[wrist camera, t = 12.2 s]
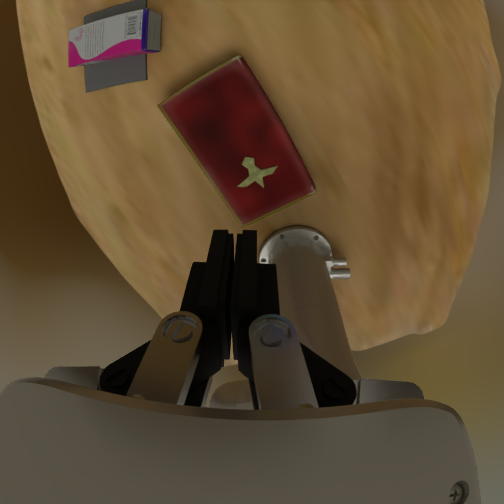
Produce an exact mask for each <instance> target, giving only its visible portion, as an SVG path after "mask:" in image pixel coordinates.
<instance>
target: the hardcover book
mask: <svg viewBox="0 0 504 504" xmlns="http://www.w3.org/2000/svg"><path fill="white" fill-rule="evenodd" d="M157 106H158V107H159V109H160V110H161V112H162V113H163V114H164V116H165V117H166V119H167V120H168V122H169V123H170V124H171V126H172V127H173V129H174V130H175V132H176V133H177V134H178V136H179V137H180V139H181V140H182V142H183V143H184V144H185V146H186V147H187V149H188V150H189V152H190V153H191V155H192V156H193V157H194V159H195V160H196V162H197V163H198V165H199V166H200V167H201V169H202V170H203V172H204V173H205V175H206V176H207V178H208V179H209V180H210V182H211V183H212V185H213V186H214V188H215V189H216V191H217V192H218V193H219V195H220V196H221V198H222V199H223V201H224V202H225V204H226V205H227V206H228V208H229V209H230V211H231V212H232V214H233V215H234V217H235V218H236V220H237V221H238V222H239V224H240V225H241V227H242V228H243V227H245V226H247V225H249V224H252V223H254V222H256V221H258V220H260V219H262V218H264V217H266V216H268V215H270V214H273V213H275V212H277V211H279V210H281V209H283V208H285V207H287V206H290V205H292V204H294V203H296V202H298V201H300V200H303V199H305V198H307V197H309V196H311V195H313V194H316V192H317V191H316V186H315V184H314V182H313V180H312V178H311V176H310V174H309V172H308V170H307V168H306V166H305V164H304V162H303V160H302V158H301V156H300V154H299V152H298V150H297V149H296V147H295V145H294V143H293V141H292V139H291V137H290V135H289V134H288V132H287V130H286V128H285V126H284V125H283V123H282V121H281V119H280V117H279V116H278V114H277V112H276V110H275V109H274V107H273V105H272V104H271V102H270V100H269V98H268V97H267V95H266V93H265V92H264V90H263V88H262V87H261V85H260V84H259V82H258V80H257V79H256V77H255V75H254V74H253V72H252V71H251V69H250V68H249V66H248V64H247V63H246V61H245V60H244V58H243V57H242V55H237V56H235V57H233V58H232V59H230V60H228V61H226V62H224V63H222V64H221V65H219V66H217V67H215V68H214V69H212V70H210V71H209V72H207V73H205V74H204V75H202V76H200V77H199V78H197V79H196V80H194V81H192V82H191V83H189V84H188V85H186V86H185V87H183V88H182V89H180V90H179V91H177V92H176V93H174V94H173V95H171V96H170V97H168V98H167V99H166V100H164V101H163V102H161V103H160V104H159V105H157Z"/></svg>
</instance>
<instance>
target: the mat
mask: <svg viewBox="0 0 504 504" xmlns="http://www.w3.org/2000/svg"><path fill="white" fill-rule="evenodd" d="M141 9H147V0H135V1H131V2H127V3H124V4H120V5H117V6H114V7H110V8H107V9H104V10H101V11H98V12H96V13H93V14H90V15H87V16H85V17H84V25H85V24H88V23H91V22H94V21H97V20H101V19H104V18H107V17H111V16H115V15H119V14H123V13H127V12H132V11H136V10H141ZM84 69H85V85H86V93H87V92H91V91H95V90H99V89H103V88H107V87H111V86H116V85H120V84H125V83H130V82H136V81H142V80H147V56H146V54H140V55H134V56H128V57H122V58H117V59H113V60H108V61H103V62H99V63H95V64H91V65H84Z"/></svg>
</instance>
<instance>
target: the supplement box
mask: <svg viewBox="0 0 504 504" xmlns="http://www.w3.org/2000/svg"><path fill="white" fill-rule="evenodd" d="M161 19H162V15H161V14H159V13H156V12H155V11H152V10H151V9H148V8H147V9H141V10H136V11H132V12H127V13H123V14H119V15H115V16H111V17H107V18H104V19H101V20H97V21H94V22H91V23H88V24H85V25H82V26H79V27H76V28H73V29H71V30H69V49H68V58H69V67H76V66H83V65H91V64H95V63H99V62H103V61H108V60H113V59H117V58H122V57H128V56H134V55H140V54H146V53H154V52H160V31H161Z"/></svg>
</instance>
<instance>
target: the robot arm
mask: <svg viewBox="0 0 504 504" xmlns="http://www.w3.org/2000/svg"><path fill="white" fill-rule="evenodd" d="M346 264H347V260H346V258H333V257H332V249H331V246H330V243H329V242H328V240H327V238H326V237H325V236H324V235H323V234H322V233H320V232H318V231H317V230H315V229H312V228H309V227H304V226H294V227H288V228H284V229H281V230H279V231H277V232H275V233H274V234H272V235H271V236H270V237H269V238H268V239H267V240H266V241H265V242H264V244H263V245H262V247H261V250H260V252H259V263H257V230H243V234H237V242H236V252H235V262H234V238H233V234H228V230H214V231H213V235H212V239H211V244H210V248H209V252H208V257H207V261H206V262H193V264H192V267H191V271H190V274H189V278H188V282H187V285H186V289H185V293H184V297H183V301H182V304H181V308H180V311H178V312H173V313H171V314H169V315H167V316H166V317H164V318H163V319H162V320H161V322H160V323H159V325H158V327H157V329H156V331H155V333H154V335H153V337H152V340H150V341H148V342H147V343H145V344H143V345H142V346H140V347H138V348H137V349H135V350H133V351H132V352H130V353H128V354H127V355H125V356H123V357H121V358H120V359H118V360H116V361H115V362H113V363H111V364H110V365H108V366H107V367H106V368H105V369H101V368H100V367H99V366H88V367H54V368H52V369H51V370H49V371H48V373H47V374H46V376H45V378H40V377H34V378H23V379H19V380H15V381H13V382H11V383H9V384H8V385H6V386H5V388H4V389H3V390H2V392H1V393H0V504H481V498H480V488H479V480H478V472H477V466H476V462H475V457H474V453H473V449H472V444H471V441H470V438H469V435H468V432H467V430H466V427H465V425H464V422H463V421H462V419H461V417H460V415H459V414H458V413H457V412H456V411H455V410H454V409H453V408H452V407H450V406H448V405H446V404H443V403H440V402H437V401H433V400H426V399H424V396H423V392H422V390H421V389H420V388H419V387H418V386H417V385H416V384H414V383H411V382H404V381H389V380H376V379H366V378H361V375H360V373H359V371H358V369H357V366H356V364H355V361H354V358H353V355H352V353H351V349H350V346H349V343H348V339H347V336H346V332H345V328H344V325H343V321H342V317H341V313H340V309H339V306H338V302H337V298H336V295H335V291H334V288H333V284H332V279H334V278H339V279H349V278H350V269H349V268H339V269H336V268H333V266H346ZM231 334H232V341H233V355H234V360H238V368H239V371H240V372H241V373H242V374H243V375H244V376H246V377H247V379H242V380H235V381H231V382H227V383H225V384H222V385H221V386H219V387H218V388H217V389H216V390H215V391H214V393H213V395H212V397H211V400H210V407H209V408H207V407H205V404H206V400H207V397H208V393H209V390H210V386H211V383H212V377H213V375H214V374H215V373H217V372H218V371H219V370H220V369H221V367H224V359H230V347H231Z"/></svg>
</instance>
